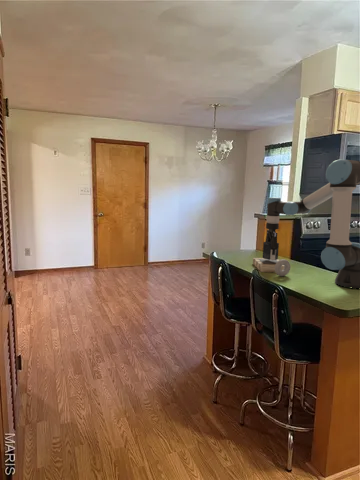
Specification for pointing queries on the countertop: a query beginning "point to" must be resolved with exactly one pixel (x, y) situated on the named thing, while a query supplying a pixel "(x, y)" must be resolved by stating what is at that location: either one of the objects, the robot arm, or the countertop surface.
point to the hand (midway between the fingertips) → (270, 257)
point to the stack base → (266, 264)
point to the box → (269, 250)
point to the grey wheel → (285, 270)
